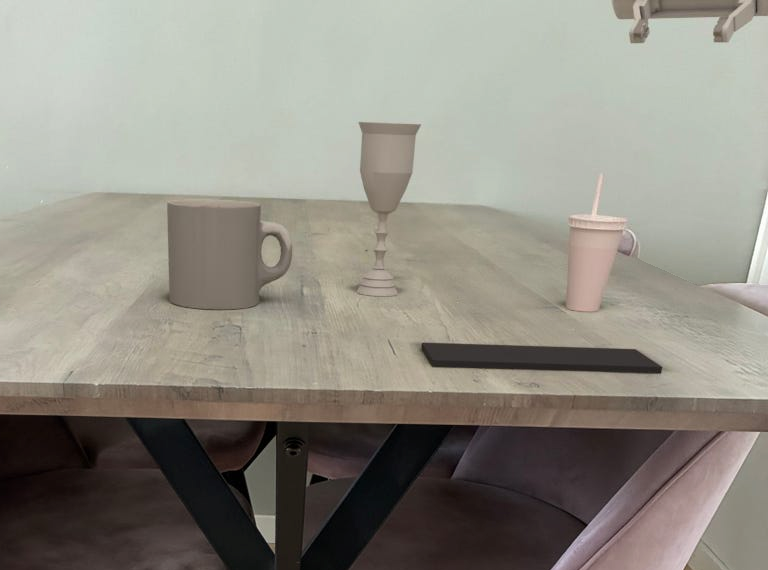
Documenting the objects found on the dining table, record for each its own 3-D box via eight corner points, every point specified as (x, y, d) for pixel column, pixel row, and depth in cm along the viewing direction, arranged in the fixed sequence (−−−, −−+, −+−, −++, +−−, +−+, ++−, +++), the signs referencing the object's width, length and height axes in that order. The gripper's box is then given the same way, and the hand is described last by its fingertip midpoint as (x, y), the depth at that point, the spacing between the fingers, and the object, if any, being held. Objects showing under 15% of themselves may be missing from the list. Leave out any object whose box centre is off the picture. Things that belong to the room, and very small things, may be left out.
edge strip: (634, 355, 89) (635, 349, 88) (661, 373, 83) (662, 366, 82) (420, 349, 88) (421, 342, 88) (432, 366, 82) (432, 359, 82)
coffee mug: (160, 306, 102) (157, 204, 97) (180, 291, 111) (178, 197, 106) (284, 313, 101) (287, 210, 96) (294, 298, 110) (297, 203, 105)
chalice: (379, 286, 119) (391, 122, 111) (418, 294, 115) (434, 124, 106) (335, 290, 115) (345, 121, 106) (375, 299, 111) (388, 123, 102)
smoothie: (563, 301, 114) (585, 171, 107) (617, 308, 111) (643, 174, 104) (546, 309, 109) (568, 173, 102) (602, 316, 106) (629, 176, 99)
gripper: (636, -79, 110) (583, 14, 108) (826, -95, 99) (771, 9, 97) (643, -28, 115) (593, 62, 113) (825, -37, 104) (772, 62, 102)
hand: (676, 37), depth 105 cm, fingers open, 8 cm apart
